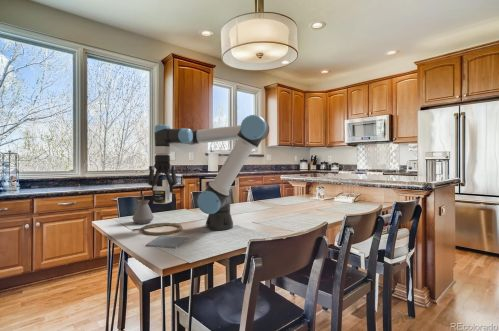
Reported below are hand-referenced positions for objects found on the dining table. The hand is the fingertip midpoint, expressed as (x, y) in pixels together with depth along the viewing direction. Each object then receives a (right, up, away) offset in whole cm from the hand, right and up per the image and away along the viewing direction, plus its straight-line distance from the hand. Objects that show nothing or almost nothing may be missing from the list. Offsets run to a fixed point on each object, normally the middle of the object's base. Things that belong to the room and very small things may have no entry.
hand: (162, 198), depth 146 cm
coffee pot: (-18, -16, +20) cm, 31 cm away
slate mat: (+9, -17, -20) cm, 28 cm away
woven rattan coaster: (-1, -17, +1) cm, 17 cm away
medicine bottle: (0, -2, 0) cm, 2 cm away
